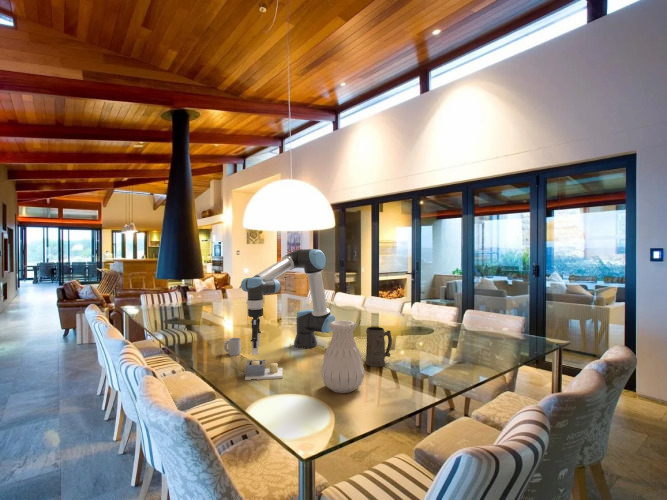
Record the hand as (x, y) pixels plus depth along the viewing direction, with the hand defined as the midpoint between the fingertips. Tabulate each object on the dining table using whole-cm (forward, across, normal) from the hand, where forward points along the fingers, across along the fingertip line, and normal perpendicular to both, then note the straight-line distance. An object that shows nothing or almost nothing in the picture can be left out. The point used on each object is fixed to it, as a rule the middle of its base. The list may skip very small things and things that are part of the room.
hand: (256, 350), depth 180 cm
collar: (+11, 0, 0) cm, 11 cm away
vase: (+13, +24, +40) cm, 48 cm away
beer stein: (+14, -10, +66) cm, 68 cm away
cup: (+13, -38, -17) cm, 44 cm away
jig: (+12, 0, +4) cm, 13 cm away
